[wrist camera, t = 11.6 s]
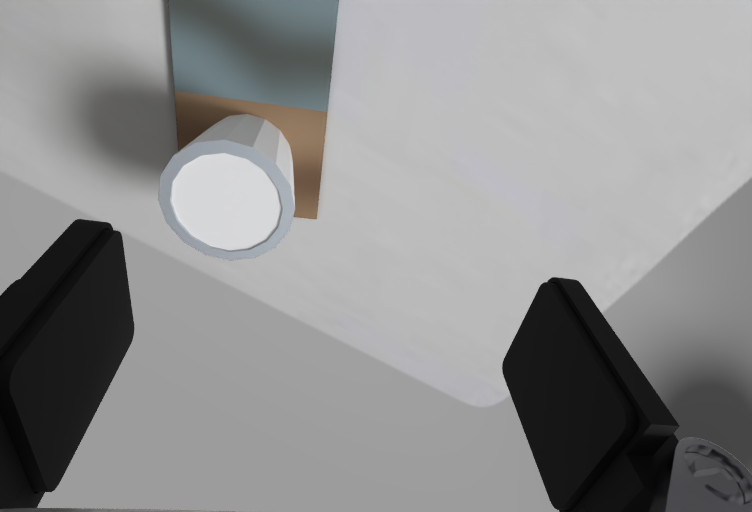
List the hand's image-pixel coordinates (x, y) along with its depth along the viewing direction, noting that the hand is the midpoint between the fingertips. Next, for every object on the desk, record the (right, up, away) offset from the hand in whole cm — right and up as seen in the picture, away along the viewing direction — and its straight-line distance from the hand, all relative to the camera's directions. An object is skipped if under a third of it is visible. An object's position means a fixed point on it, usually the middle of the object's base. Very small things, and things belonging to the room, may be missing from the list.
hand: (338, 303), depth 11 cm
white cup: (-7, +7, +19) cm, 22 cm away
